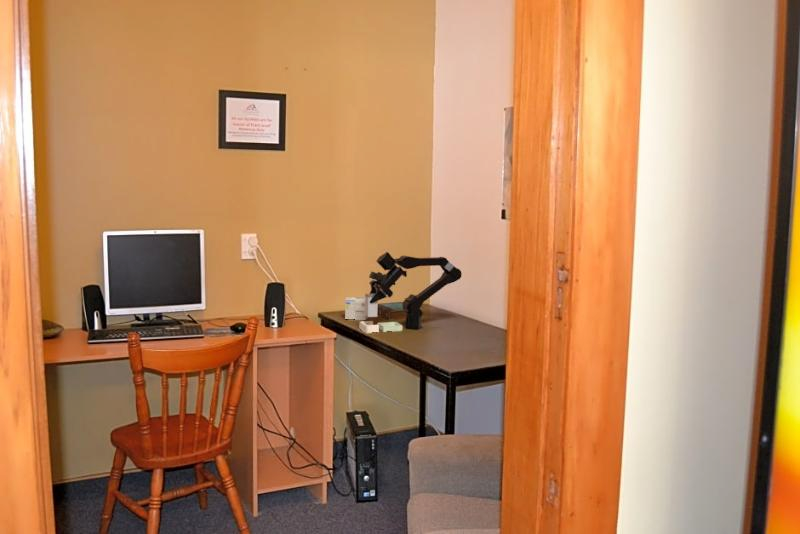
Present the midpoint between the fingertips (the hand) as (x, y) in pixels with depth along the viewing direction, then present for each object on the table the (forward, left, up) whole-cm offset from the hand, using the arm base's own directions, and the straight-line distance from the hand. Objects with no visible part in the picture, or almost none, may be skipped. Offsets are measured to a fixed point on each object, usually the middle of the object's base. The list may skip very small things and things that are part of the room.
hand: (368, 301), depth 326 cm
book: (+6, -42, -14) cm, 45 cm away
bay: (-1, -1, -13) cm, 14 cm away
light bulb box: (+18, -22, -14) cm, 32 cm away
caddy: (-1, -1, -7) cm, 7 cm away
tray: (-7, -7, -13) cm, 17 cm away
